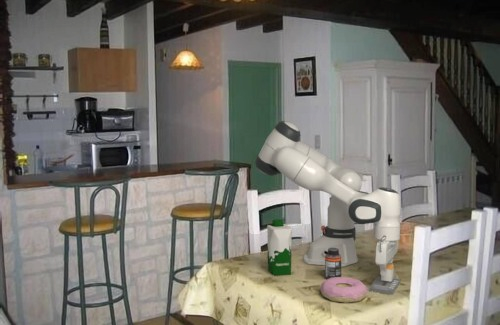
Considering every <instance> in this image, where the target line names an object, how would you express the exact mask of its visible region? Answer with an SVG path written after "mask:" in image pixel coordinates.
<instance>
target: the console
mask: <svg viewBox="0 0 500 325" xmlns="http://www.w3.org/2000/svg"><path fill="white" fill-rule="evenodd" d="M400 283H401V279H400V278H397V275H394V274H393V280H392V281H391V282H389V281H382V280H381V275H378V276H377V277H376V278H375V280H374V281H373V282H372V283H371V285H370V286H369V287H368V292H372V291H373V293H374V292H375V293H378V292H379V294H386V295H394V293H395V291H396V290H397V288H398V287H399V285H400Z"/></svg>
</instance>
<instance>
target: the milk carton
mask: <svg viewBox="0 0 500 325" xmlns="http://www.w3.org/2000/svg"><path fill="white" fill-rule="evenodd" d="M266 230H267V231H266V232H267V233H266V234H267V270H268V272H269V273H270V274H271V275H272V276H273V275H274V276H273V277H277V276H278V277H279V276H287V275H292V237H293V236H292V233H293V228H292V227H291V226H289V225H288V224H285V223H284V220H283V219H278V218H277V219H273V220H272V224H269V225H268V224H267V226H266Z"/></svg>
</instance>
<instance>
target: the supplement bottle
mask: <svg viewBox="0 0 500 325" xmlns="http://www.w3.org/2000/svg"><path fill="white" fill-rule="evenodd" d="M324 269H325V270H324V273H325V274H324V275H325V280H327V279H330V278H334V277H342V267H341V255H340V254H339V249H338V248H328V253H327V254H326V255H325V265H324Z"/></svg>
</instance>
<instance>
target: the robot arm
mask: <svg viewBox="0 0 500 325" xmlns="http://www.w3.org/2000/svg"><path fill="white" fill-rule="evenodd" d="M301 136H302V135H301V131H300V130H299V128H298V127H297V126H296V125H295V124H294V123H292V122H290V121H285V120H282V121H281V120H280V121H278V123H277V124H275V126H274V128H273V130H272V131H271V132H270V133H269V135H268V136H267V137H266V139H265V142H264V144H263V145H262V147H261V149H260V151H259V153H258V154H257V156H256V157H255V162H254V164H255V166H256V168H257V169H258V170H259V172H261V173H262V174H265V175H267V176H271V177H273V176H276V175H280V174H282V175H283V176H284V177H286V178H287V180H290V181H291V182H293V183H294V184H296V186H299V187H301V188H302V189H305V190H307V191H317V192H319V191H320V192H324V193H327V194H329V195H331V196H330V201H329V205H328V206H327V225H321V227H320V230H321V231H322V233H321V234H322V235H321V236H319V237H318V238H316V239H315V240H314V241H312V242H311V244H310V246H309V249H308V252H307V253H305V254H304V255H303V262H304V263H306V264H308V265H317V266H325V255H326V254H327V253H328V248H338V249H339V254H340V255H341V268H342V267H343V268H344V267H347V266H350V265H354V264H356V263H358V262H359V258H358V255H357V250H356V236H357V229H356V227H355V223H356V224H358V225H368V224H374V239H375V240H376V239H377V243H376V247H375V259H374V261H375V262H374V263H375V265H376V266H379V270H380V276H381V275H383V276H385V275H386V272H387V270H386V265H387V264H392V265H393V261H394V256H395V255H397V253H398V250H399V242H400V241H399V240H401V233H402V229H401V221H400V218H401V210H402V209H401V208H402V207H401V206H402V205H401V203H402V202H401V196H400V193H399V192H398V191H396V190H395V189H392V188H388V187H382V186H381V187H377V188H376V189H375V190H373V191H371V192H370V193H369V192H366V191H361V189H362V186H363V182H362V178H361V177H360V176H359V174H358V173H357V172H356V171H355V170H354V169H351V168H348V167H344V166H342V165H340V164H338V163H336V162H335V161H334V160H332V159H331V158H329V157H328V156H326V155H325V154H323V153H322V152H319V151H318V150H317V149H315V148H313V147H311V146H310V145H308V144H306V143H305V142H301V141H300V140H301Z"/></svg>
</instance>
